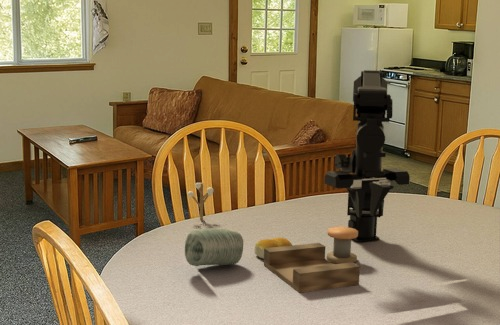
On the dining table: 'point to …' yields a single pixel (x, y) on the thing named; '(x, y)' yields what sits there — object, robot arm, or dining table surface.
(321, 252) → the notch board
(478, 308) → the dining table surface
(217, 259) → the spool
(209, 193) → the cotton branch
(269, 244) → the bread roll
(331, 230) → the orange capped knob
